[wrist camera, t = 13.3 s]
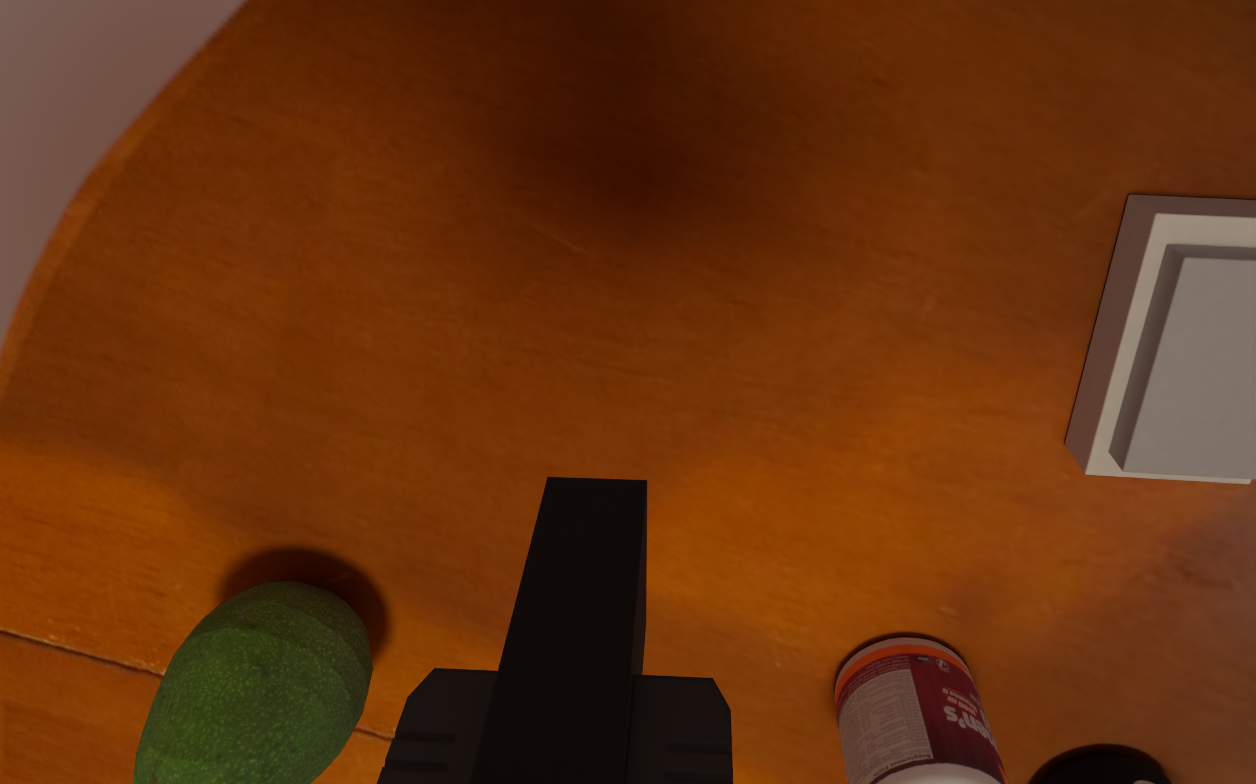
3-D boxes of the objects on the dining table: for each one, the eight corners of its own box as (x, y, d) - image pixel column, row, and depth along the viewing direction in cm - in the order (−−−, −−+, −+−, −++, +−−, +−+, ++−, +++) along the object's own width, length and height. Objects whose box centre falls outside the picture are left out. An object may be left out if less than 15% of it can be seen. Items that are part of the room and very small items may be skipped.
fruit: (397, 690, 47) (307, 922, 37) (232, 670, 47) (95, 895, 37) (396, 553, 44) (295, 766, 33) (218, 531, 44) (61, 736, 33)
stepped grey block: (1127, 193, 35) (1174, 225, 31) (1305, 201, 34) (1371, 235, 31) (1063, 443, 39) (1098, 495, 36) (1220, 452, 39) (1269, 505, 35)
